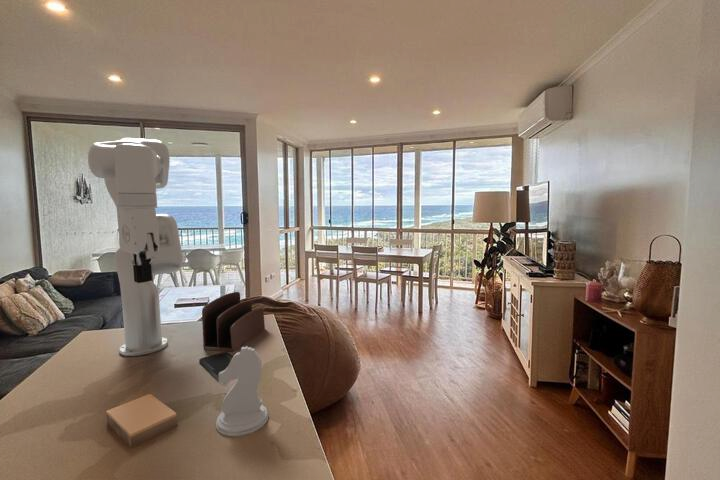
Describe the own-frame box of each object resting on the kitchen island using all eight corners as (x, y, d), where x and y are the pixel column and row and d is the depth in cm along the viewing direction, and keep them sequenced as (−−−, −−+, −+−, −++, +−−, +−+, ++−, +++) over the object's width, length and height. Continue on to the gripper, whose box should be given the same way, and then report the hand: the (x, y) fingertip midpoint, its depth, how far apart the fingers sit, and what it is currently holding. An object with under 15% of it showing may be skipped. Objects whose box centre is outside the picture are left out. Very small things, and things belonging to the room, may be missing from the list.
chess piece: (222, 409, 75) (218, 340, 74) (270, 404, 77) (267, 336, 75) (210, 439, 65) (205, 360, 64) (265, 433, 67) (262, 356, 65)
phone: (226, 351, 103) (248, 368, 92) (226, 354, 103) (248, 372, 92) (197, 359, 98) (217, 378, 87) (197, 363, 98) (218, 382, 87)
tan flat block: (106, 410, 70) (130, 434, 63) (149, 393, 77) (176, 413, 69) (107, 425, 71) (131, 450, 63) (150, 406, 77) (177, 427, 70)
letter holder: (203, 350, 107) (200, 304, 105) (239, 327, 126) (237, 288, 124) (232, 352, 104) (230, 305, 103) (265, 329, 124) (263, 289, 122)
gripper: (105, 200, 81) (111, 279, 84) (133, 203, 72) (140, 290, 75) (140, 200, 87) (146, 273, 90) (171, 202, 78) (176, 283, 81)
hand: (143, 281), depth 82 cm, fingers closed
